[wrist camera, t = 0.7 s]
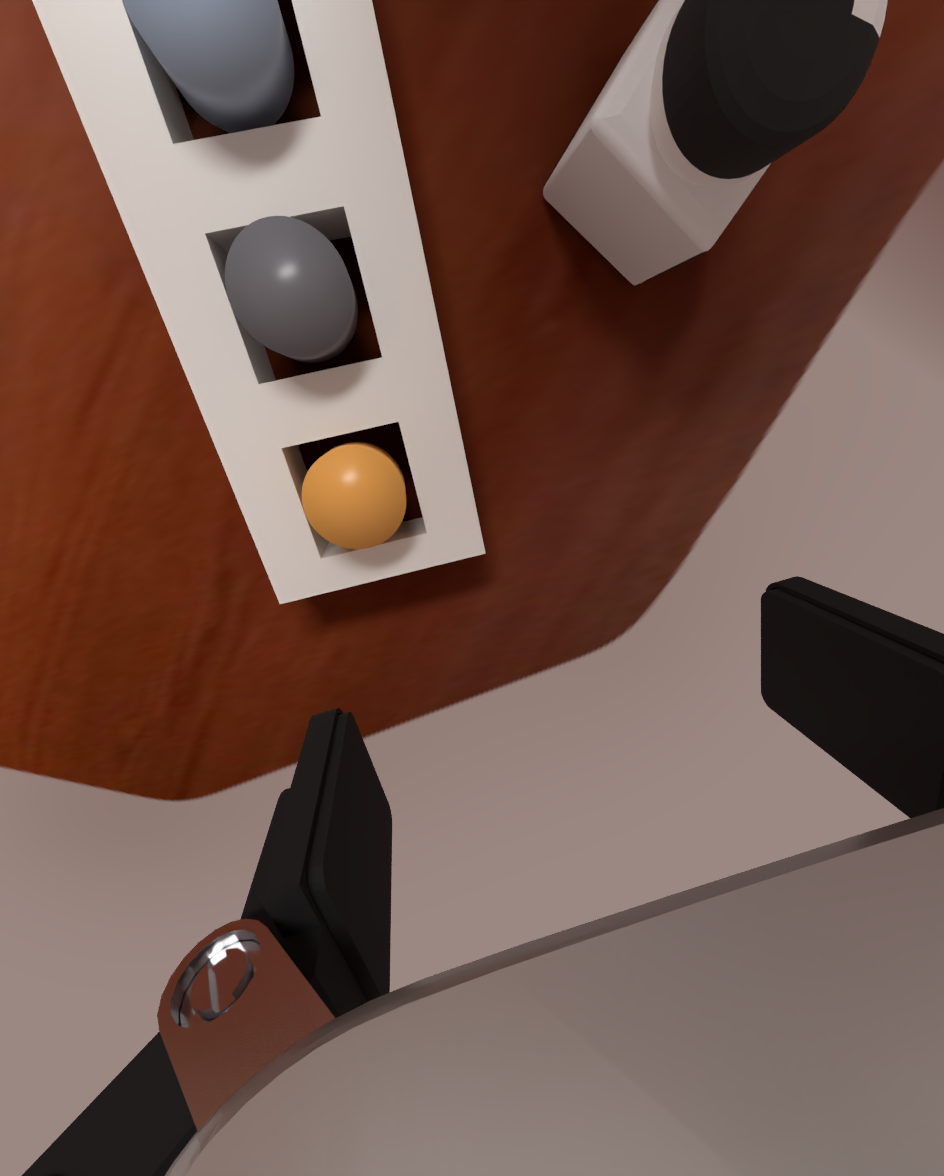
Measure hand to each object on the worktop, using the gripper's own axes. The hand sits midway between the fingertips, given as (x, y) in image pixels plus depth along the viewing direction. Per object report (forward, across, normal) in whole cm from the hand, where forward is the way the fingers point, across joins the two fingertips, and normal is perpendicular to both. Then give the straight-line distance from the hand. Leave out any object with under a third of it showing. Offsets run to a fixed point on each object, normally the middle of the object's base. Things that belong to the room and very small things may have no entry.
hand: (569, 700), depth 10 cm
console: (+21, +5, -12) cm, 25 cm away
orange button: (+19, +5, -3) cm, 20 cm away
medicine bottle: (+21, -13, -15) cm, 29 cm away
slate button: (+18, +5, -21) cm, 28 cm away
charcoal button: (+18, +5, -12) cm, 23 cm away
